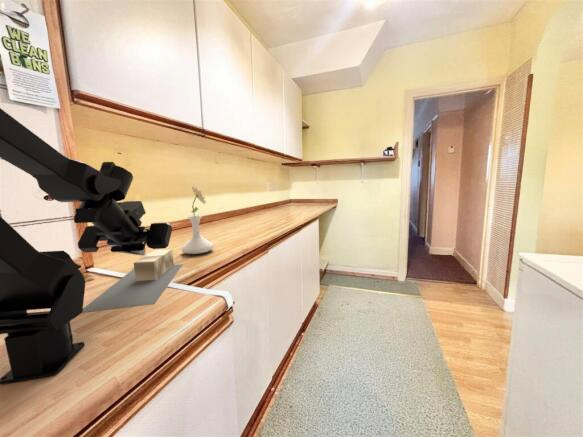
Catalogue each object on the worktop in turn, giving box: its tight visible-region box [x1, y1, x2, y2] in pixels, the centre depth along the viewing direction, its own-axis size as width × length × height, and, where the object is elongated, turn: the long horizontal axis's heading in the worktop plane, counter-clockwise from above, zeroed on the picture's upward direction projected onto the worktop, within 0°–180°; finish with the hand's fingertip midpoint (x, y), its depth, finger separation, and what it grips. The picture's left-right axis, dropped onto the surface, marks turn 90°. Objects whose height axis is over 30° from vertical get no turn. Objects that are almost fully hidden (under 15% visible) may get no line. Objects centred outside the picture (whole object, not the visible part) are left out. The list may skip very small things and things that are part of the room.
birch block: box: [133, 248, 175, 281], centre depth 68 cm, size 5×5×12 cm
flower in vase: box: [180, 185, 214, 255], centre depth 89 cm, size 13×11×25 cm
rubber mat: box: [81, 263, 183, 314], centre depth 61 cm, size 26×14×1 cm, turn 12°
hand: (143, 253), depth 62 cm, fingers closed
